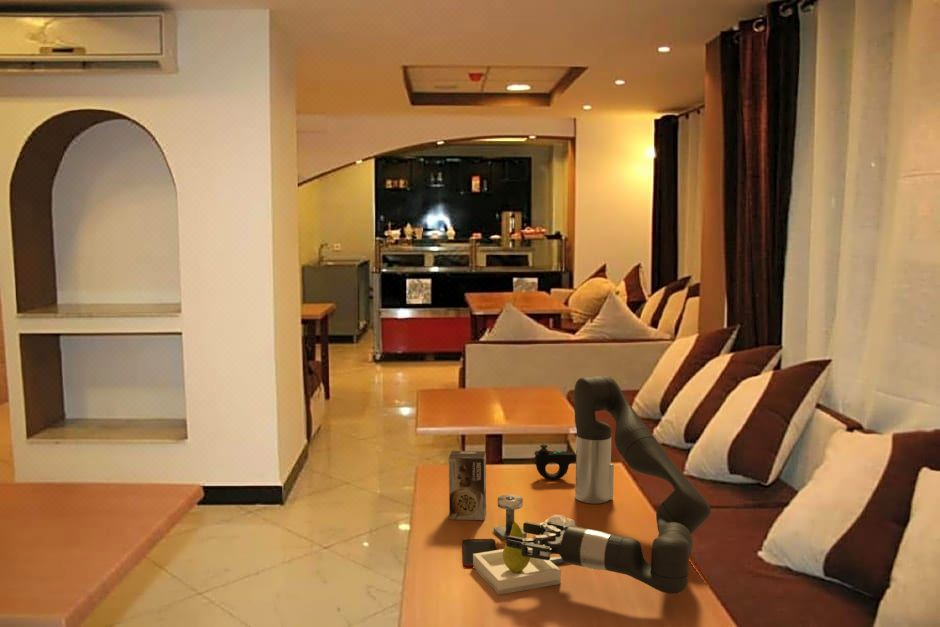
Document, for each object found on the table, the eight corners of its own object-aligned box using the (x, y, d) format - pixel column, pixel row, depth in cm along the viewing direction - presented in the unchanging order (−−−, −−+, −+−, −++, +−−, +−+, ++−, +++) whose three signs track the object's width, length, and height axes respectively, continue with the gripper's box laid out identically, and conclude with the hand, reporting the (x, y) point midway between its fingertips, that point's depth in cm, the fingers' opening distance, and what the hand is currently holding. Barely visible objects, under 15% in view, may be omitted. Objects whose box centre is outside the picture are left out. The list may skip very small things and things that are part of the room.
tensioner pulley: (516, 528, 202) (516, 492, 201) (526, 537, 197) (527, 500, 196) (493, 531, 200) (493, 495, 199) (503, 540, 195) (503, 503, 194)
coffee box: (486, 511, 213) (487, 450, 211) (484, 521, 207) (485, 458, 205) (451, 510, 214) (451, 449, 212) (448, 519, 208) (448, 457, 206)
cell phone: (495, 542, 195) (495, 538, 194) (498, 569, 180) (499, 565, 180) (462, 542, 194) (462, 538, 194) (463, 569, 180) (463, 565, 180)
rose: (583, 512, 202) (574, 526, 193) (582, 529, 202) (574, 544, 193) (542, 507, 205) (532, 520, 196) (542, 524, 206) (532, 538, 197)
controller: (533, 476, 242) (533, 443, 240) (575, 476, 242) (576, 443, 240) (534, 481, 237) (534, 447, 236) (577, 481, 237) (578, 447, 236)
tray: (531, 557, 185) (531, 544, 185) (560, 583, 172) (560, 569, 172) (473, 567, 180) (473, 553, 180) (498, 594, 167) (498, 580, 167)
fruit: (526, 578, 172) (526, 522, 171) (499, 574, 174) (499, 519, 173) (532, 567, 178) (533, 513, 176) (506, 563, 180) (506, 510, 178)
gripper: (575, 579, 161) (500, 563, 169) (600, 553, 174) (529, 538, 181) (575, 542, 160) (500, 527, 168) (600, 518, 173) (529, 505, 181)
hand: (515, 533), depth 175 cm, fingers open, 8 cm apart
